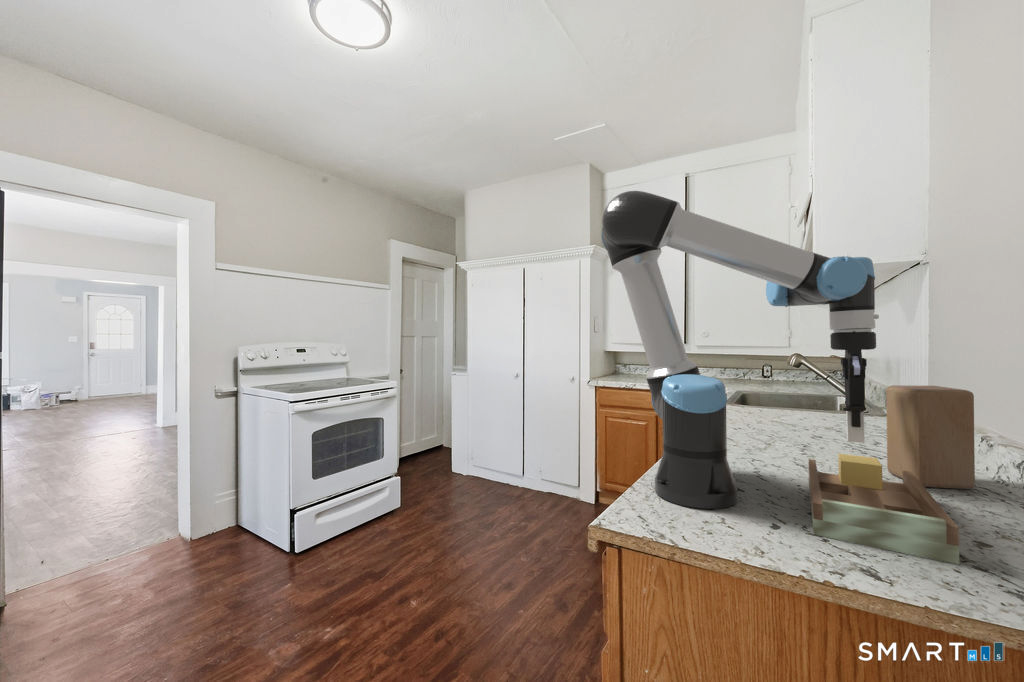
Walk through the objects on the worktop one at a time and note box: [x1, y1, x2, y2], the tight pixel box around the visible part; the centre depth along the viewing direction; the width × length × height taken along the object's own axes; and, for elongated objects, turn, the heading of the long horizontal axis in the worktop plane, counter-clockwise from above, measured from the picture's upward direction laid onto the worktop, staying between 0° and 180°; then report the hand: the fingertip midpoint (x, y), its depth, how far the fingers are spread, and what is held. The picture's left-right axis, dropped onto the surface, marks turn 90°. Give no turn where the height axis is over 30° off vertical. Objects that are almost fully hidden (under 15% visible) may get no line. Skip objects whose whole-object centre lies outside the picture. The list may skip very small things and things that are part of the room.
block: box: [885, 384, 976, 490], centre depth 88 cm, size 10×10×20 cm
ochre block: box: [837, 453, 883, 490], centre depth 81 cm, size 6×6×4 cm
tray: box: [808, 458, 960, 565], centre depth 72 cm, size 16×28×6 cm, turn 145°
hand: (855, 441), depth 88 cm, fingers closed
